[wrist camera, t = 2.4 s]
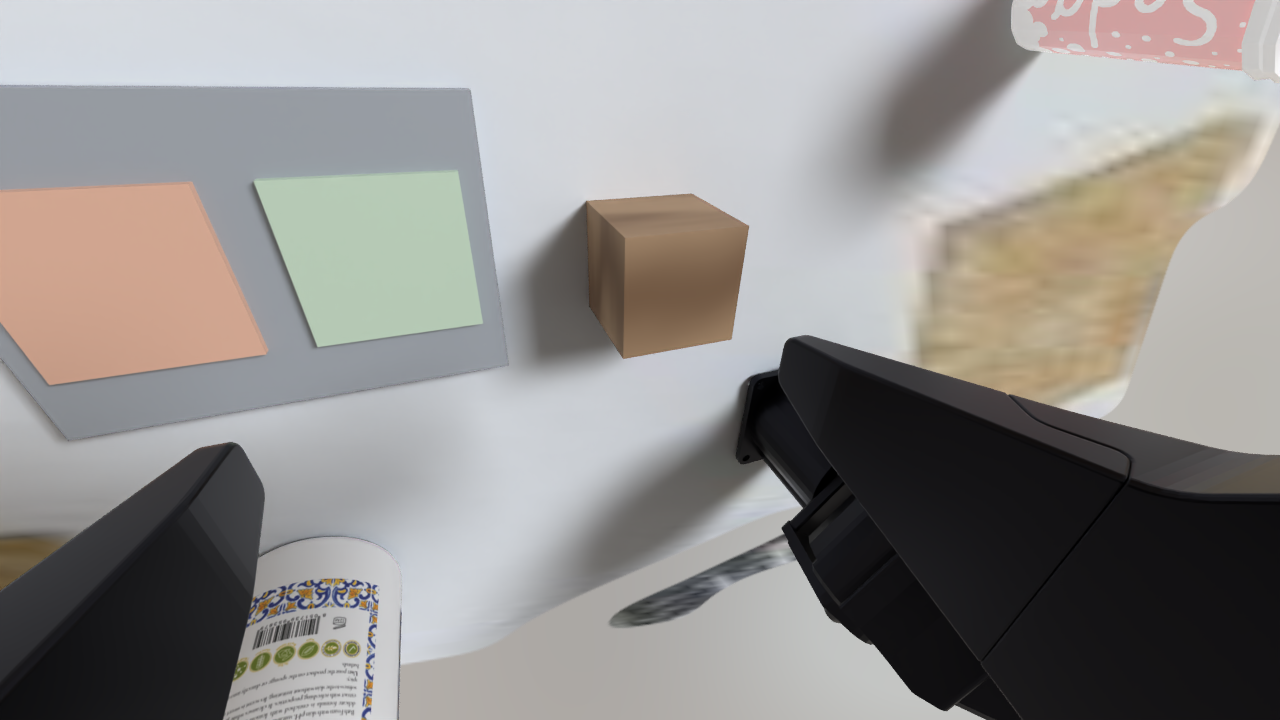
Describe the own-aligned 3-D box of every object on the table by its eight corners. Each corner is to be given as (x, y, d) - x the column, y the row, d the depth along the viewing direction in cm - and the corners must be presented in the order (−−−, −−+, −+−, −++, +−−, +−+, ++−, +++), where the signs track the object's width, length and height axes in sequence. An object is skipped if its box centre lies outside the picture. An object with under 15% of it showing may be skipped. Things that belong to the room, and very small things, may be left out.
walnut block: (682, 292, 22) (731, 339, 19) (588, 305, 21) (623, 358, 18) (690, 193, 20) (748, 226, 17) (585, 200, 19) (624, 238, 15)
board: (506, 355, 21) (509, 369, 20) (81, 425, 16) (63, 446, 15) (468, 88, 15) (471, 91, 14) (-184, 84, 11) (-236, 87, 10)
